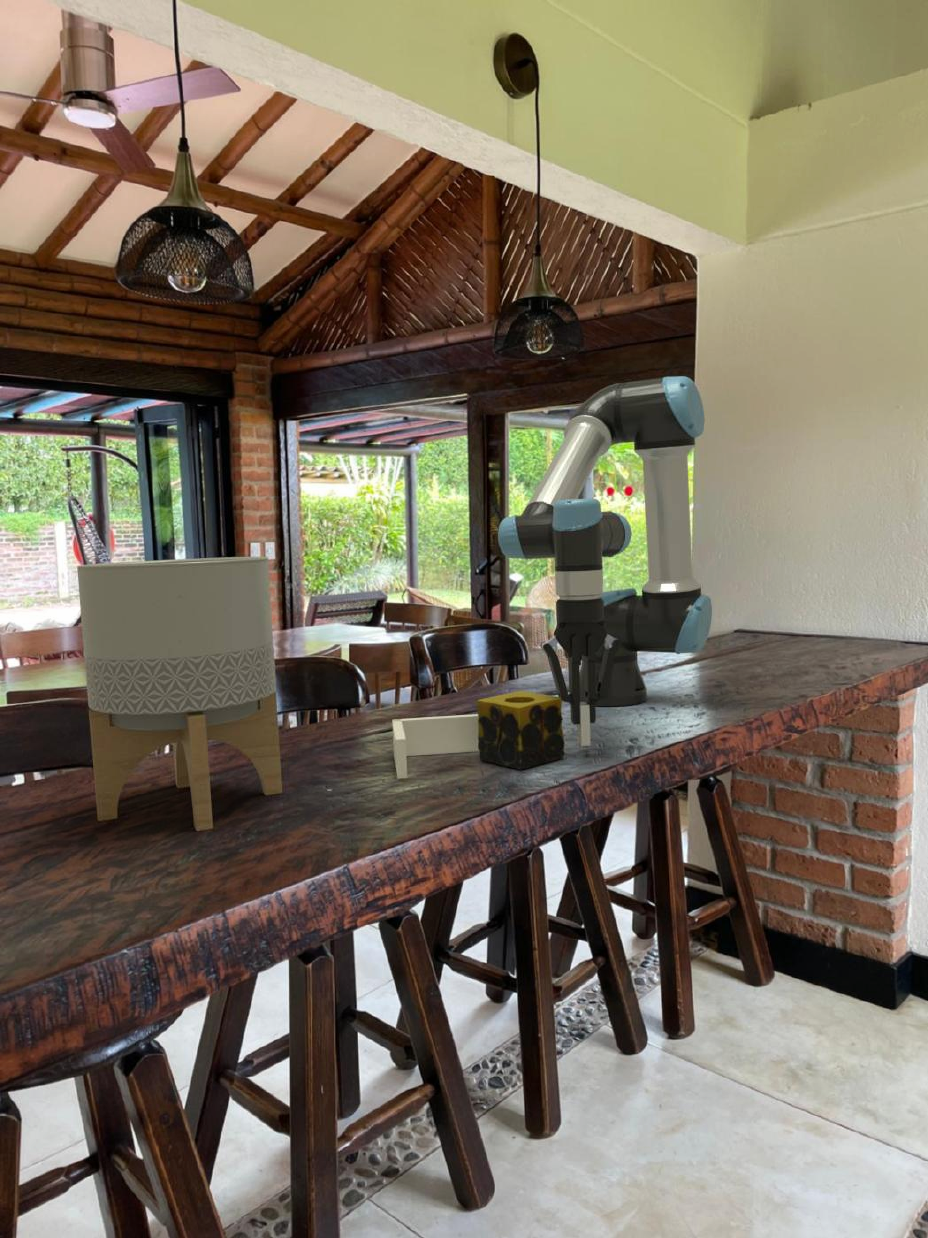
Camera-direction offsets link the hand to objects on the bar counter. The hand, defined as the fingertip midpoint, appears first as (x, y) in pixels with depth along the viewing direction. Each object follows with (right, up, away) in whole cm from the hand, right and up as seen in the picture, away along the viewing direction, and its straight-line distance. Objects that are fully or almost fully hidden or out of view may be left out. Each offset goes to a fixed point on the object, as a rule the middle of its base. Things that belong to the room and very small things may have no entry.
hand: (583, 743), depth 144 cm
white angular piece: (-20, -3, 0) cm, 20 cm away
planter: (-57, -6, -18) cm, 61 cm away
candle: (-10, -3, -1) cm, 10 cm away
